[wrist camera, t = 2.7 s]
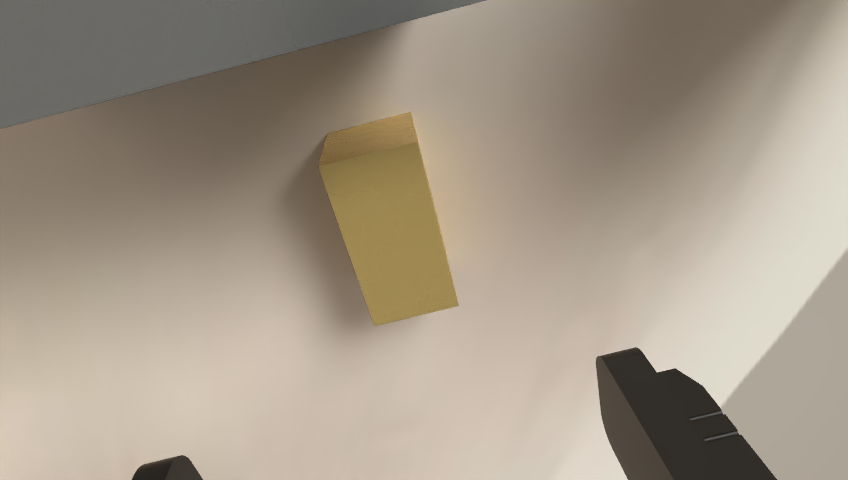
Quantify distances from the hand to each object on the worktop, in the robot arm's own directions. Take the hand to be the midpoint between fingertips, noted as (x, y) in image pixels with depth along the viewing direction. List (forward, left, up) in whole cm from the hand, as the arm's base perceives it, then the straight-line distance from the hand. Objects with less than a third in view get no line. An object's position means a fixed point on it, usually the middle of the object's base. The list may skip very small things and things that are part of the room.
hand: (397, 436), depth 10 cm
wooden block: (0, 0, -11) cm, 11 cm away
